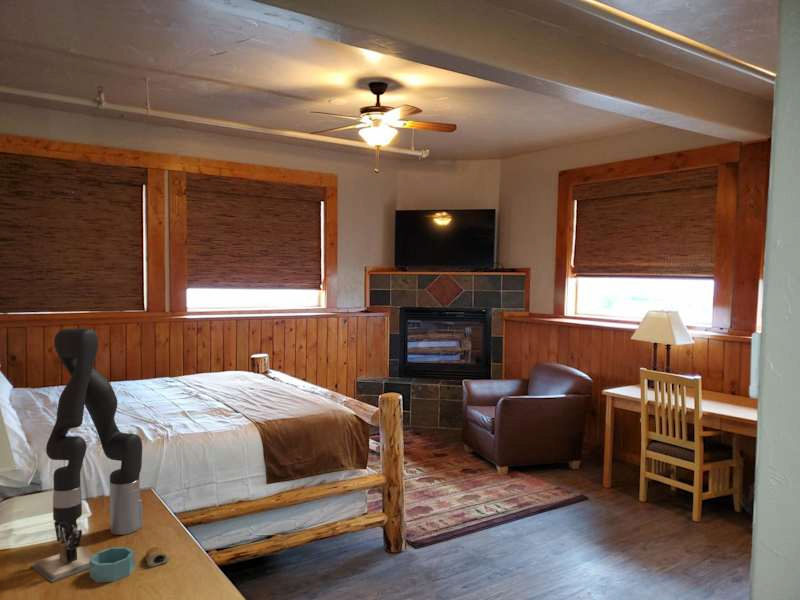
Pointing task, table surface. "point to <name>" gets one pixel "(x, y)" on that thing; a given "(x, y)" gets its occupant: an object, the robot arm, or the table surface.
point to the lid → (65, 562)
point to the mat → (58, 577)
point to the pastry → (156, 556)
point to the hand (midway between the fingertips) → (68, 558)
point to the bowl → (112, 564)
